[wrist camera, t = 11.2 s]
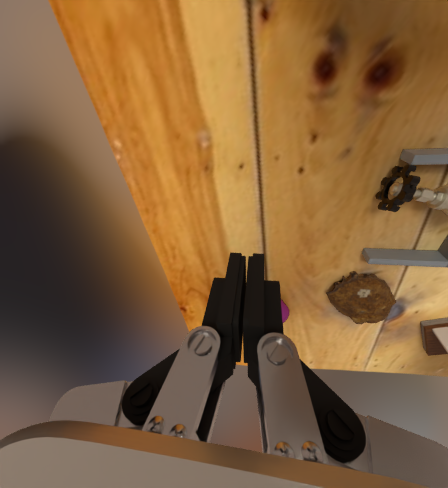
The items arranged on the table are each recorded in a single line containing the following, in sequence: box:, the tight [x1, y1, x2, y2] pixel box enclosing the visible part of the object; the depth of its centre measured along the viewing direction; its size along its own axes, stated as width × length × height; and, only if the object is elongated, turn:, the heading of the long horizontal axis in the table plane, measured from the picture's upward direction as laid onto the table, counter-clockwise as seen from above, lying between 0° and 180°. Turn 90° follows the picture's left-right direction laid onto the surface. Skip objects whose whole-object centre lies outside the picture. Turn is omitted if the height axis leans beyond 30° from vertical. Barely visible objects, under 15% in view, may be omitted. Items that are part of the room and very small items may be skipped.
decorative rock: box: [327, 271, 396, 324], centre depth 46 cm, size 11×4×15 cm
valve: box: [376, 164, 448, 215], centre depth 30 cm, size 7×7×12 cm
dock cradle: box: [362, 148, 448, 267], centre depth 33 cm, size 18×13×3 cm
